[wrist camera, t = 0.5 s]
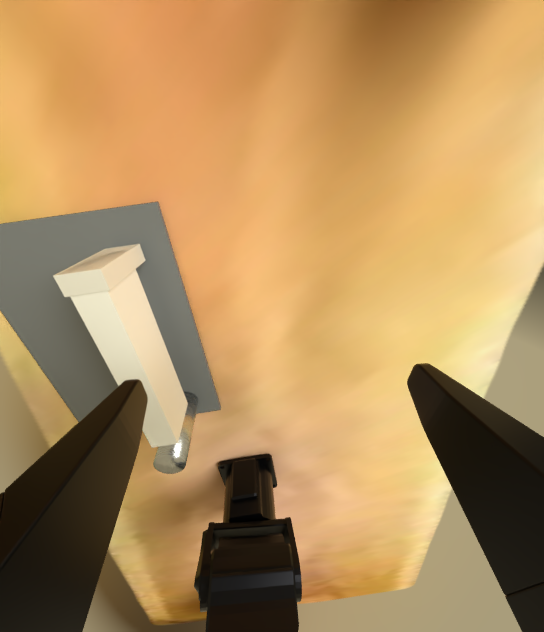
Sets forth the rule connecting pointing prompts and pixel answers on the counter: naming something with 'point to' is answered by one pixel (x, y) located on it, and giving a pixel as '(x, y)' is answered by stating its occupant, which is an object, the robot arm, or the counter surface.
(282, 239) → the counter surface
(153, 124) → the counter surface
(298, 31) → the counter surface
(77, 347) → the mat
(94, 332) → the cream long block
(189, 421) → the gate post
